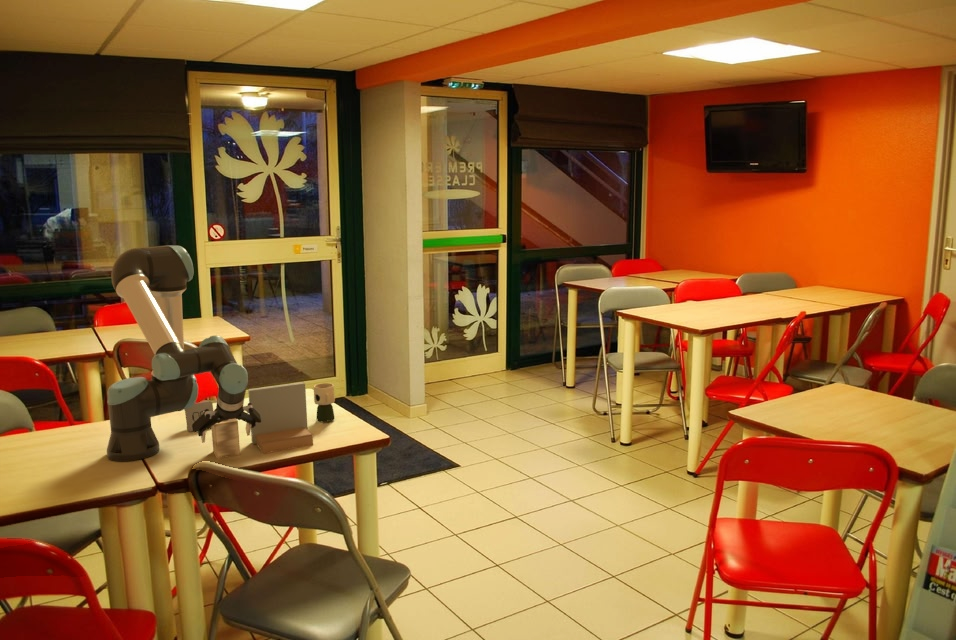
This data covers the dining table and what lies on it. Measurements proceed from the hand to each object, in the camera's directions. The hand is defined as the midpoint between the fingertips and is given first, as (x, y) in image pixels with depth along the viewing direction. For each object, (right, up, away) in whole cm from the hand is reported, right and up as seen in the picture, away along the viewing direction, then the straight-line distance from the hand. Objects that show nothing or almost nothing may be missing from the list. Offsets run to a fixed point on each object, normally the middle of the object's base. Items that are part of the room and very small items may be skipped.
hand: (225, 435), depth 245 cm
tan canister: (0, -6, 0) cm, 6 cm away
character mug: (+25, 0, +31) cm, 40 cm away
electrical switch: (-17, -1, +25) cm, 30 cm away
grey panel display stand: (+17, -4, +7) cm, 19 cm away
